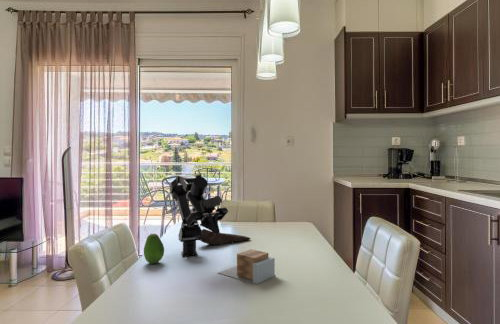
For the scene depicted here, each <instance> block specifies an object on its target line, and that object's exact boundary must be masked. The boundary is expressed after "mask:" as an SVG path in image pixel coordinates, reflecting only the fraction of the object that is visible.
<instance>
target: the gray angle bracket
mask: <svg viewBox="0 0 500 324" xmlns="http://www.w3.org/2000/svg"><path fill="white" fill-rule="evenodd" d="M275 258H276V257H271V256H268V258H266V259H264V260H261V261H259V262H256V263H253V280H251V279H248V278H244V277H241V276H237V265H235V266H232V267H230V268H227V269H224V270H221V271H220V272H218V274H219V275H223V276H225V277H228V278H229V277H230V278H232V279H236V280H239V281H243V282H246V283H250V284H252V285H253V284H254V285H259V284H261V283H263V282H265V281H267V280H269V279H272V278H274V277H276V274H275V272H276V271H275V270H276V269H275V267H276V265H275V263H276V262H275V260H276V259H275Z"/></svg>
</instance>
